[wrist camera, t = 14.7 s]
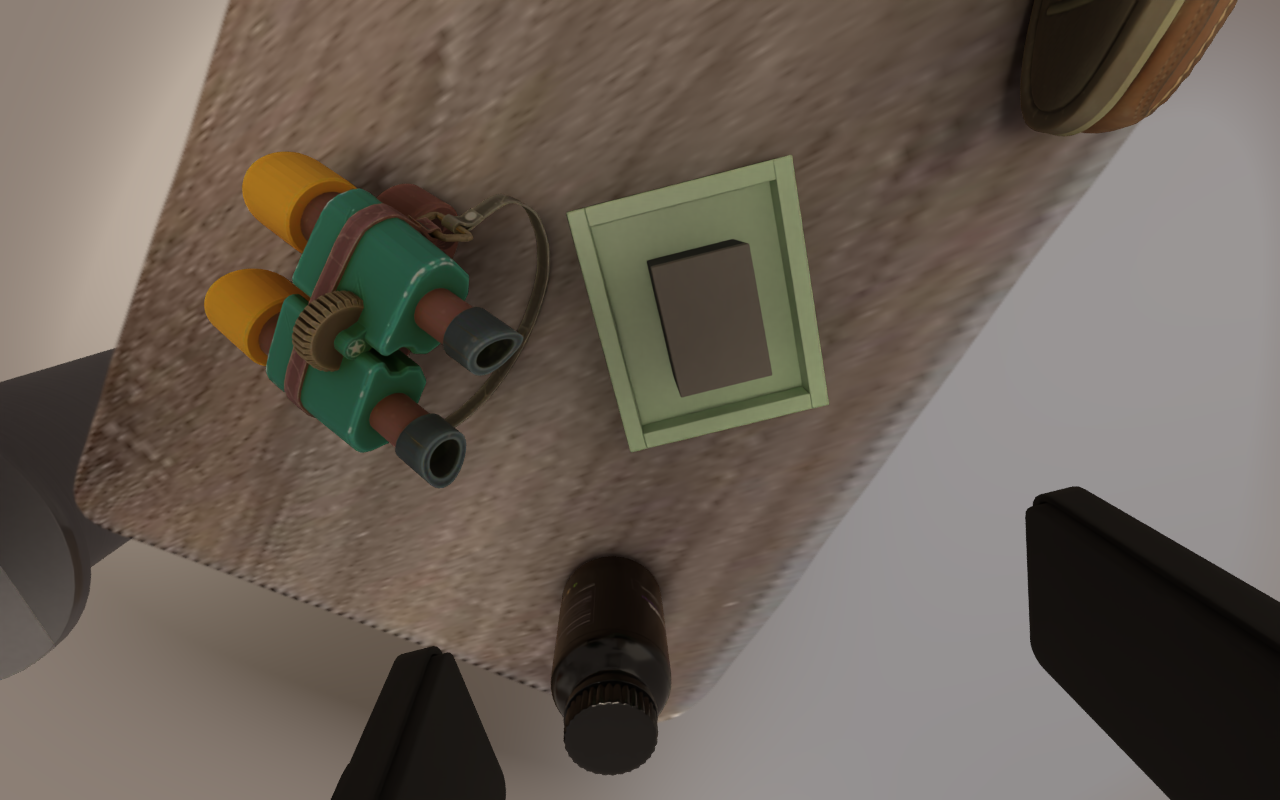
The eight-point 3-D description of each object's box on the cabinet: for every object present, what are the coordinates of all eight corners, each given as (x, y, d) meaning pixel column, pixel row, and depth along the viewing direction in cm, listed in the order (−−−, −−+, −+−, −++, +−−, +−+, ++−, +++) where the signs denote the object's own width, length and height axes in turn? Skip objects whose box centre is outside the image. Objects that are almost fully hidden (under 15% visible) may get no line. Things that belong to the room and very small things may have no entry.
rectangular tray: (629, 437, 38) (630, 453, 36) (568, 211, 34) (565, 212, 31) (815, 392, 38) (829, 404, 35) (779, 157, 33) (792, 154, 31)
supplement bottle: (680, 582, 42) (707, 725, 30) (624, 650, 43) (629, 811, 32) (597, 534, 40) (592, 665, 29) (542, 606, 42) (517, 759, 30)
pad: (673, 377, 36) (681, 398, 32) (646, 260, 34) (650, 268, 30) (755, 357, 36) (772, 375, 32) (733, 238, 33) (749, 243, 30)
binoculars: (492, 176, 36) (233, 55, 22) (679, 286, 31) (497, 220, 18) (404, 377, 39) (134, 380, 26) (561, 503, 35) (334, 587, 21)
